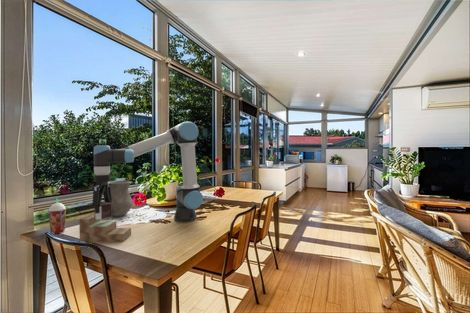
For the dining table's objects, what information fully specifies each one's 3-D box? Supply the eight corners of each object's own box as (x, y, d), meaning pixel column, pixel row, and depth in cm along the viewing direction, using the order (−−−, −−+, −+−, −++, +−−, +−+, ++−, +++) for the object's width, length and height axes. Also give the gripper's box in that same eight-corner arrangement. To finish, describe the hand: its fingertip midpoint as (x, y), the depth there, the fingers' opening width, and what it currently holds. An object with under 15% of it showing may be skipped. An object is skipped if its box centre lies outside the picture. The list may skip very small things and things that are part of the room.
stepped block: (131, 234, 132) (130, 213, 131) (122, 241, 121) (122, 218, 121) (91, 235, 131) (90, 214, 131) (79, 242, 121) (78, 219, 120)
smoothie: (70, 230, 140) (69, 197, 139) (55, 235, 132) (54, 200, 132) (60, 229, 143) (59, 196, 142) (45, 233, 135) (44, 199, 134)
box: (111, 216, 127) (111, 203, 127) (100, 219, 122) (100, 205, 122) (105, 215, 130) (105, 202, 130) (94, 217, 125) (93, 204, 125)
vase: (124, 211, 185) (123, 179, 185) (138, 214, 174) (137, 181, 174) (97, 216, 169) (96, 182, 169) (111, 221, 158) (110, 184, 158)
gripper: (105, 172, 136) (105, 211, 136) (83, 176, 115) (83, 222, 115) (118, 172, 136) (119, 211, 136) (98, 176, 115) (99, 222, 116)
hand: (103, 216), depth 126 cm, fingers closed on box, 8 cm apart
